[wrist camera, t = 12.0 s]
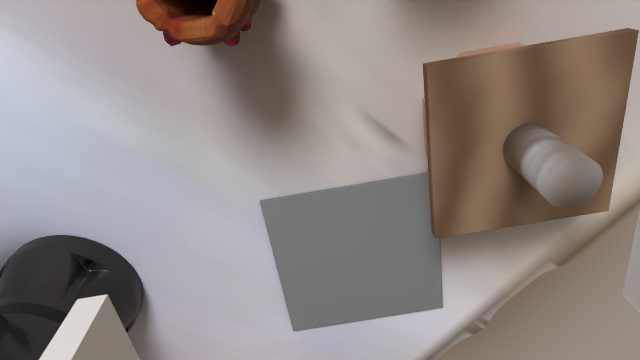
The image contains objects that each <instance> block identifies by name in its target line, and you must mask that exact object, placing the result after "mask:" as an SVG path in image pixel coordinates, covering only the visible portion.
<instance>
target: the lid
mask: <svg viewBox="0 0 640 360" xmlns="http://www.w3.org/2000/svg"><path fill="white" fill-rule="evenodd" d="M638 32H639V30H634V29H629V28H626V29H621V30H615V31H609V32H603V33H597V34H592V35H586V36H580V37H574V38H568V39H563V40H557V41H551V42H545V43H539V44H534V45H528V46H522V47H516V48H511V49H505V50H499V51H493V52H487V53H482V54H476V55H470V56H464V57H458V58H453V59H447V60H441V61H435V62H429V63H424V64H423V76H424V95H425V115H426V134H427V154H428V173H429V193H430V212H431V232H432V234H433V236H434V238H435V239H437V238H444V237H450V236H456V235H462V234H468V233H474V232H481V231H487V230H493V229H499V228H505V227H511V226H518V225H524V224H530V223H536V222H542V221H548V220H554V219H561V218H567V217H573V216H579V215H585V214H591V213H598V212H604V211H609V205H610V199H611V193H612V187H613V181H614V175H615V169H616V163H617V157H618V151H619V145H620V139H621V133H622V127H623V121H624V115H625V109H626V103H627V98H628V92H629V86H630V80H631V74H632V68H633V62H634V56H635V50H636V44H637V38H638Z"/></svg>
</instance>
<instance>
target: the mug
mask: <svg viewBox="0 0 640 360" xmlns="http://www.w3.org/2000/svg"><path fill="white" fill-rule="evenodd" d="M259 3H260V0H137V1H136V6H137V8H138V11H139V12H140V14H141V15H142V16H143V18H144V19H145V20H146V21H148V22H150V23H151V24H153V25H154V26H155V28H156V29H157V30H159V31H163V35H164V39H165V41H166V42H167V43H168V44H169V45H171V46H174V45H177V44H180V43H181V42H185V43H188V44H192V45H213V44H217V43H221V42H224V43H225V44H227V45H232V46H234V45H237V44H239V39H240V32H239V30H241V31H247V30H248V29H250V28H251V19H250V18H251V17H252V15H253V14H254V13H255V11H256V9H257V8H258V5H259Z"/></svg>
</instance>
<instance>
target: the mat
mask: <svg viewBox="0 0 640 360" xmlns="http://www.w3.org/2000/svg"><path fill="white" fill-rule="evenodd" d="M260 204H261V208H262V212H263V216H264V219H265V223H266V227H267V231H268V235H269V239H270V243H271V247H272V250H273V254H274V258H275V262H276V266H277V270H278V274H279V278H280V281H281V285H282V289H283V293H284V297H285V301H286V305H287V308H288V312H289V316H290V320H291V324H292V328H293V331H297V330H303V329H309V328H316V327H322V326H328V325H335V324H341V323H347V322H354V321H360V320H366V319H373V318H379V317H385V316H392V315H398V314H404V313H410V312H417V311H423V310H429V309H436V308H442V307H443V301H442V277H441V253H440V238H437V239H435V238H434V236H433V234H432V232H431V212H430V193H429V173H422V174H416V175H410V176H404V177H398V178H392V179H386V180H380V181H374V182H368V183H362V184H356V185H350V186H344V187H338V188H332V189H326V190H320V191H314V192H308V193H302V194H296V195H290V196H284V197H278V198H272V199H266V200H260Z"/></svg>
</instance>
